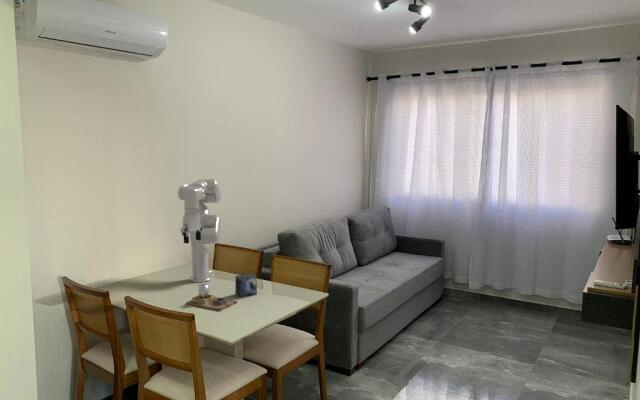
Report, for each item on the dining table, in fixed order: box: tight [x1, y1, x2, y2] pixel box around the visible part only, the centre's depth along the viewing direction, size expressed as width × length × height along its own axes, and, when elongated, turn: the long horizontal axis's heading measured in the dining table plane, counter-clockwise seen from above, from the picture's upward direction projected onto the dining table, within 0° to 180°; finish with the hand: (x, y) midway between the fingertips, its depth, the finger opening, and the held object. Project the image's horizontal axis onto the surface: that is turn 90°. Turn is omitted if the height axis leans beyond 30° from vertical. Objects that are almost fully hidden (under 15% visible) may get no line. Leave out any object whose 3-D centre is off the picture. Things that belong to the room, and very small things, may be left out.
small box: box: [234, 273, 258, 298], centre depth 264 cm, size 11×6×10 cm, turn 117°
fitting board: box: [185, 294, 238, 312], centre depth 249 cm, size 14×22×3 cm, turn 64°
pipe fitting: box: [198, 283, 210, 300], centre depth 251 cm, size 5×5×8 cm
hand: (192, 241), depth 266 cm, fingers open, 9 cm apart
